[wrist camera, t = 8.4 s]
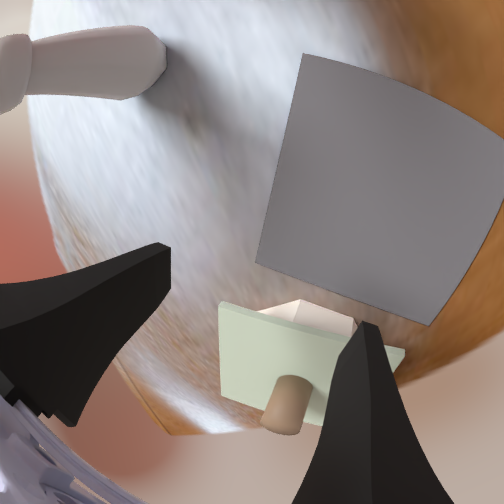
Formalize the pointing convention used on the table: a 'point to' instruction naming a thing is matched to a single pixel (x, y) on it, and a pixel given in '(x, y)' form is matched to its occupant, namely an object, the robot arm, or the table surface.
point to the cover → (280, 366)
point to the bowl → (313, 317)
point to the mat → (379, 190)
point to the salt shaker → (80, 64)
